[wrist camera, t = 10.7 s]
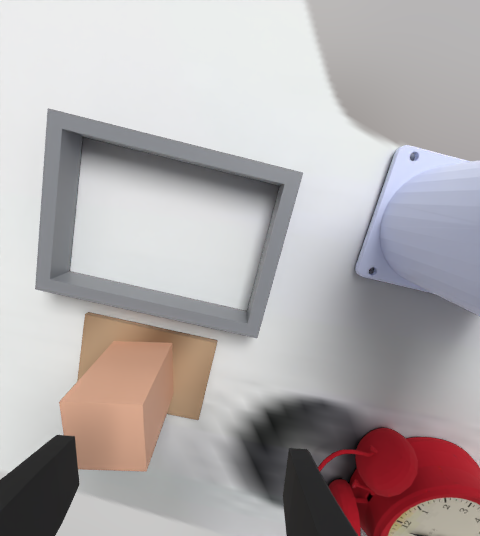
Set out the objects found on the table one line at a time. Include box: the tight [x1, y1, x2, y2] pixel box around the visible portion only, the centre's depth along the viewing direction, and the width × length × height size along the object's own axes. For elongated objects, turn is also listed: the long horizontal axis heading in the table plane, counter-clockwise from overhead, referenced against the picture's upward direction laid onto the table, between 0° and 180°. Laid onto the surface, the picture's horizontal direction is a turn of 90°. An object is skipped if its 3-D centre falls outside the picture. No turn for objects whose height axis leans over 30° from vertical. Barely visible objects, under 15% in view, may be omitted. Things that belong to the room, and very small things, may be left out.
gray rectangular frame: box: [35, 109, 303, 338], centre depth 17 cm, size 14×10×2 cm
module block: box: [59, 341, 174, 471], centre depth 17 cm, size 4×4×6 cm
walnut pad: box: [77, 312, 217, 420], centre depth 20 cm, size 9×6×1 cm
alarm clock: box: [318, 428, 480, 536], centre depth 21 cm, size 10×6×15 cm
